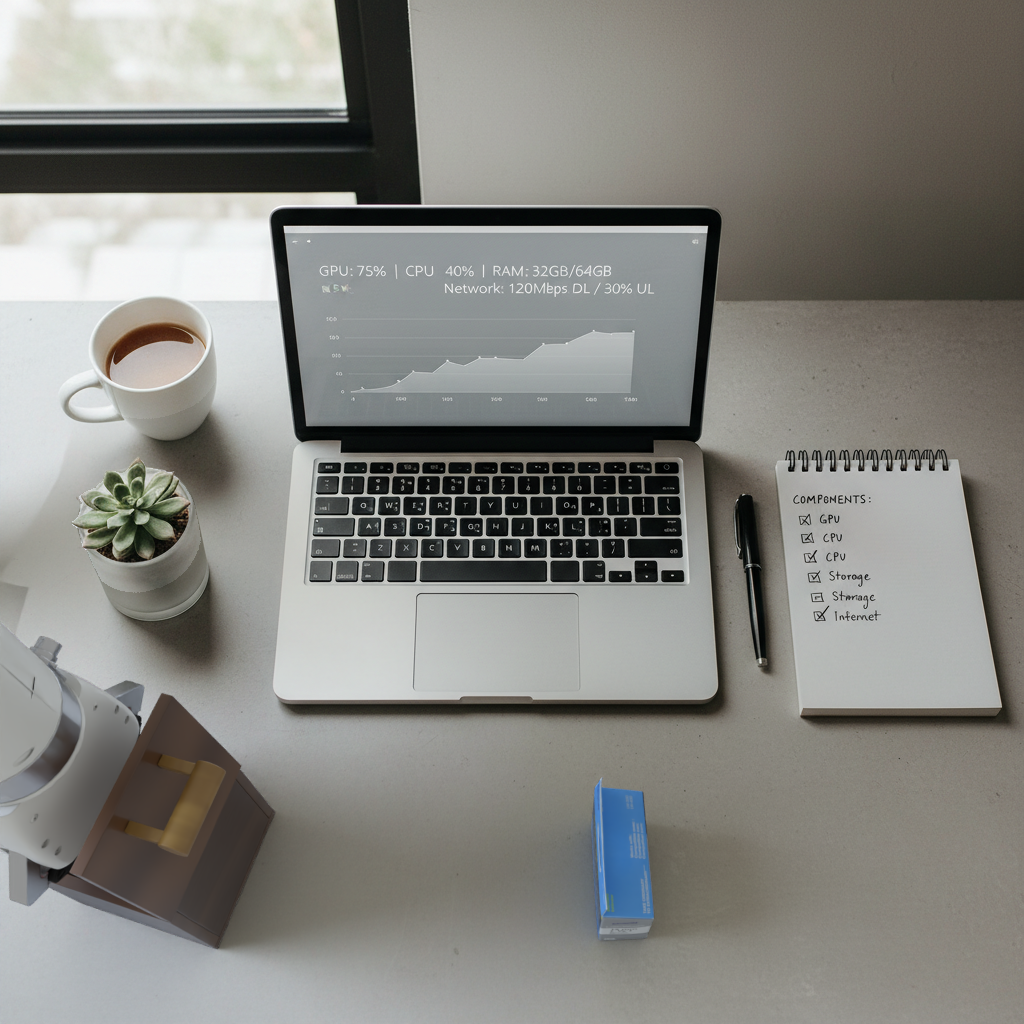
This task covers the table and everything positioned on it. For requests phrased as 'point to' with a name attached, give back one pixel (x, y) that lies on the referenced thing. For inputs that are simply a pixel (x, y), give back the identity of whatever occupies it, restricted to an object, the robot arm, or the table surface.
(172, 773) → the chest lid
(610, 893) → the label tape box
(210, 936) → the chest
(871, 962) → the table surface
